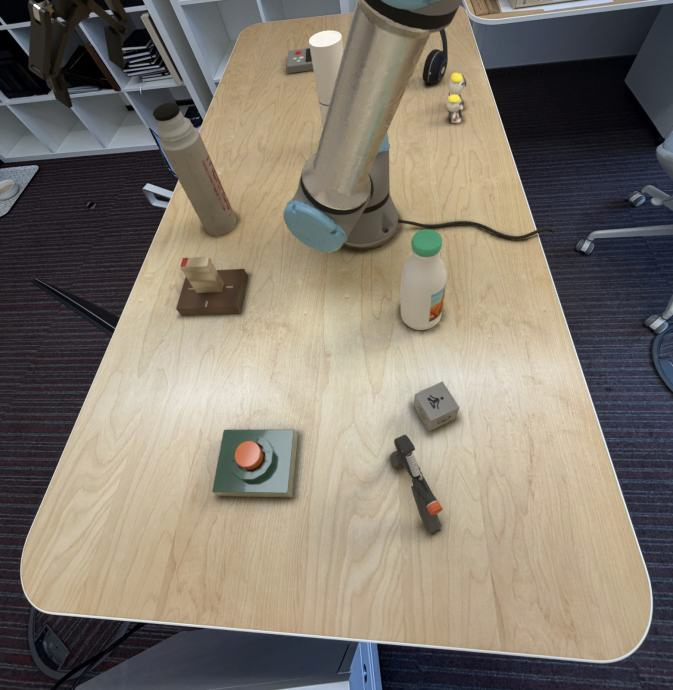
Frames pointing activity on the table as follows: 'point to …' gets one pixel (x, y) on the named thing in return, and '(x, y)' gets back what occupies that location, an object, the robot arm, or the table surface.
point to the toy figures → (455, 97)
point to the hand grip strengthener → (417, 484)
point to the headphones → (436, 62)
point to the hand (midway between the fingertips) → (91, 82)
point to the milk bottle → (423, 281)
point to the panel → (214, 296)
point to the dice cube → (435, 406)
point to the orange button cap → (249, 455)
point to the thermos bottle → (194, 169)
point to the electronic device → (299, 60)
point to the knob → (202, 274)
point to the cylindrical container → (325, 65)
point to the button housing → (271, 473)
